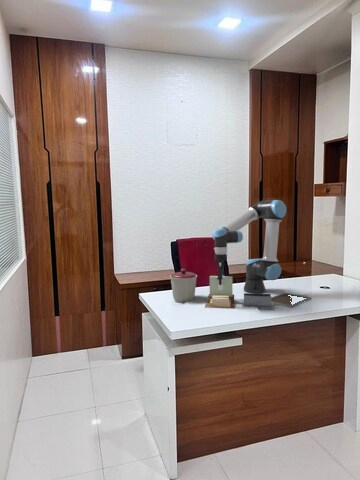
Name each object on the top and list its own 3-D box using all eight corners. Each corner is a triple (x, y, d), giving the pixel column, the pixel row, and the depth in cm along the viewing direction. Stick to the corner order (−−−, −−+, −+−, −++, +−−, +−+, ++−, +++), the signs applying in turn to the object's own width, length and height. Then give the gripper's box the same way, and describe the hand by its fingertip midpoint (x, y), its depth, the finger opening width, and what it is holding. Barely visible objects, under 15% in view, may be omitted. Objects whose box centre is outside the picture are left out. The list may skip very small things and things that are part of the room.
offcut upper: (212, 299, 218) (212, 295, 218) (228, 299, 217) (228, 295, 217) (212, 302, 211) (212, 298, 211) (229, 302, 210) (229, 298, 210)
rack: (207, 301, 229) (207, 292, 229) (235, 301, 226) (235, 293, 226) (204, 310, 210) (204, 301, 209) (235, 311, 207) (235, 302, 206)
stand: (242, 304, 221) (242, 292, 220) (271, 305, 217) (272, 293, 217) (242, 308, 211) (242, 296, 210) (273, 310, 208) (273, 297, 207)
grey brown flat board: (311, 297, 231) (288, 307, 210) (311, 299, 231) (288, 309, 210) (284, 292, 244) (260, 301, 223) (284, 294, 244) (260, 303, 223)
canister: (200, 297, 239) (199, 266, 236) (194, 305, 221) (193, 271, 219) (174, 296, 243) (174, 266, 241) (166, 303, 226) (165, 270, 224)
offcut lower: (211, 303, 219) (211, 299, 219) (230, 303, 217) (230, 299, 217) (209, 306, 211) (209, 302, 211) (230, 307, 209) (230, 303, 209)
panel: (210, 300, 224) (209, 276, 223) (232, 301, 222) (232, 276, 220) (209, 302, 222) (209, 276, 220) (232, 302, 219) (232, 277, 218)
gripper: (216, 250, 232) (216, 282, 234) (213, 256, 207) (213, 291, 209) (227, 251, 230) (228, 283, 233) (225, 256, 206) (226, 292, 208)
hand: (221, 287), depth 221 cm, fingers open, 13 cm apart
